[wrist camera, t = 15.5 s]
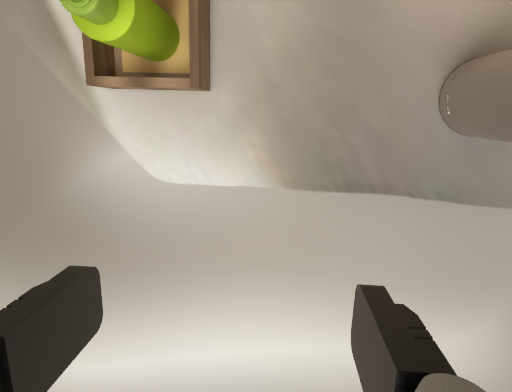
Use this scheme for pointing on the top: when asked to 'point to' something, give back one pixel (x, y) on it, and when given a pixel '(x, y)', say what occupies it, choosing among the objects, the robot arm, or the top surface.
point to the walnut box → (151, 72)
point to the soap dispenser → (127, 26)
